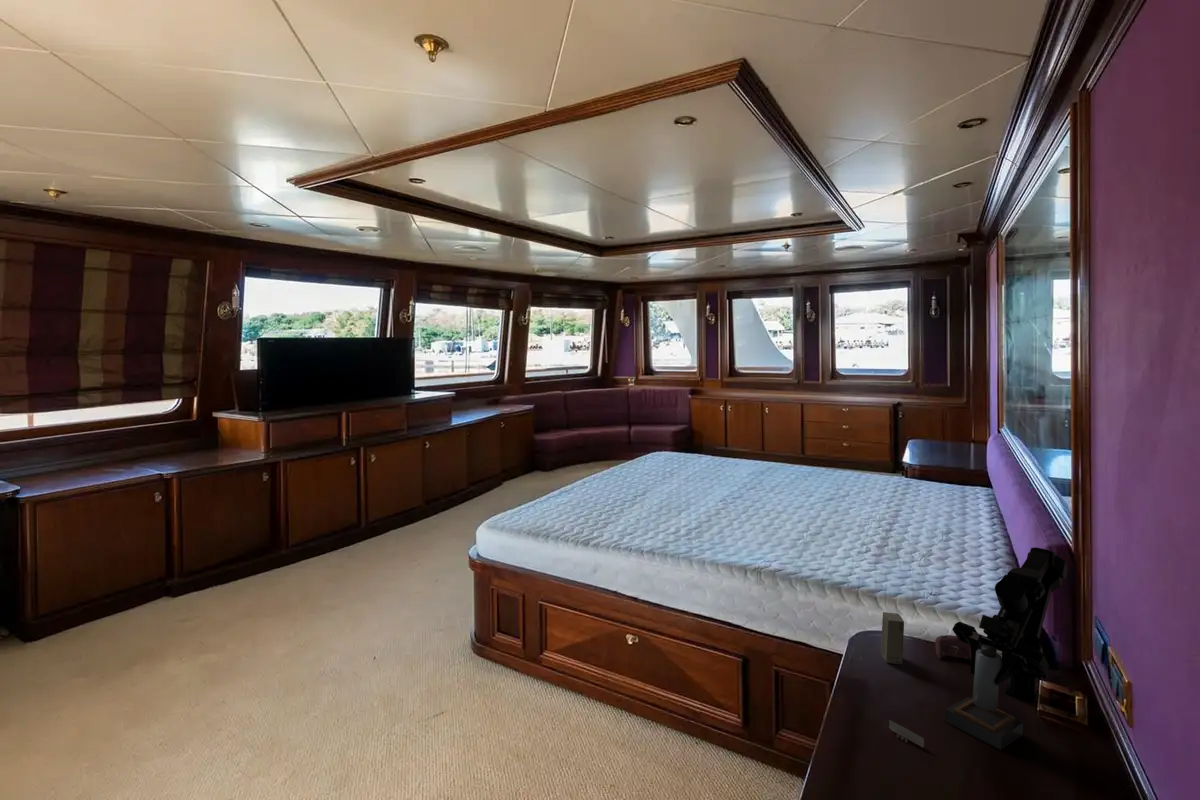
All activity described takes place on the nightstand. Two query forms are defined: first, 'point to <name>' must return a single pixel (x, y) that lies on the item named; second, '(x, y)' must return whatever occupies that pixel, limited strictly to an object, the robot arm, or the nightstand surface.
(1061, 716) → the nightstand surface
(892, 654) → the skincare box
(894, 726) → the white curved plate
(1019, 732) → the grey rectangular box
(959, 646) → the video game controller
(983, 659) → the white capped bottle
